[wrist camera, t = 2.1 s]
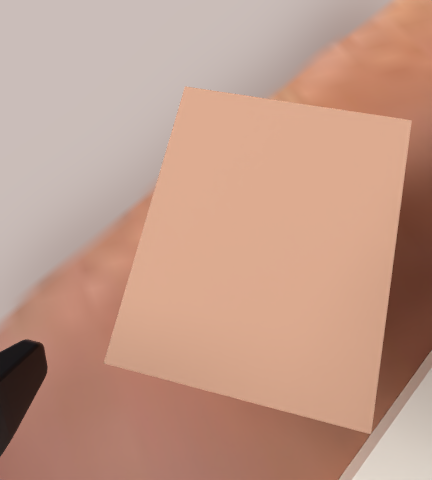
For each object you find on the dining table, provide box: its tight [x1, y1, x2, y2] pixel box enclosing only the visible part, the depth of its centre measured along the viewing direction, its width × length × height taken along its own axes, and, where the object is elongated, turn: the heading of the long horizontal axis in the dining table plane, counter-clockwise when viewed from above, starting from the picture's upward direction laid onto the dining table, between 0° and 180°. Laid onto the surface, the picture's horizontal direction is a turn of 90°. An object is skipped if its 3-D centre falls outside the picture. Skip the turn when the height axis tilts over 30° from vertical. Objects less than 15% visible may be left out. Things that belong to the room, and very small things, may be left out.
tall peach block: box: [104, 87, 412, 434], centre depth 13 cm, size 5×4×13 cm
